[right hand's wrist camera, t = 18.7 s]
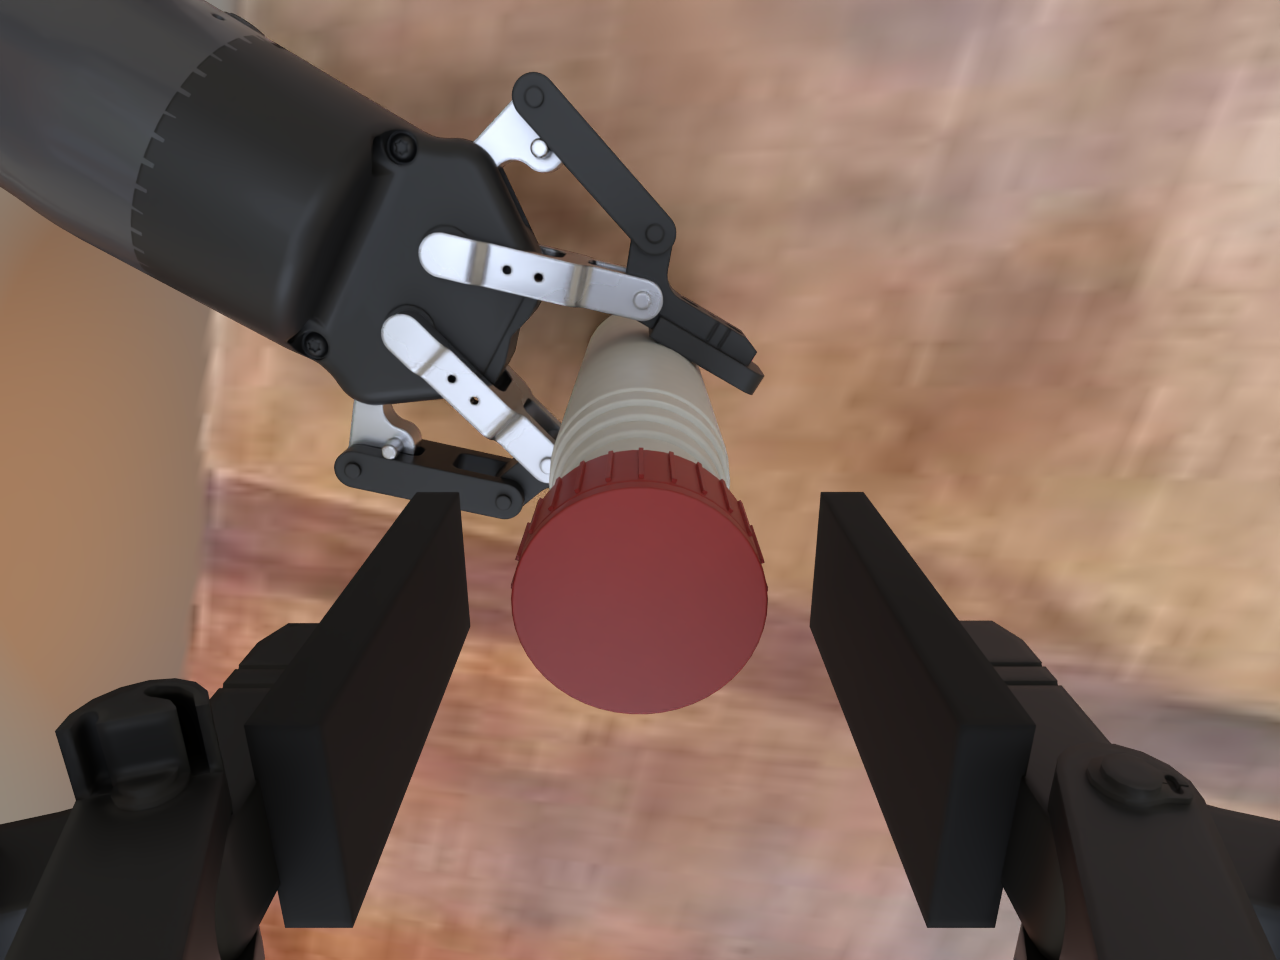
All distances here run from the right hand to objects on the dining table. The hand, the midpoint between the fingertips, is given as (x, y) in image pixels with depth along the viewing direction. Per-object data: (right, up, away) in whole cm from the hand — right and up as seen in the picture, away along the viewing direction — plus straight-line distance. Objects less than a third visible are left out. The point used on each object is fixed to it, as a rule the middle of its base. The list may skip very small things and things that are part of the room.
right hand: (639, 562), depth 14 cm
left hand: (+2, +3, +11) cm, 12 cm away
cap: (0, 0, -1) cm, 1 cm away
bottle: (0, +6, +17) cm, 18 cm away
